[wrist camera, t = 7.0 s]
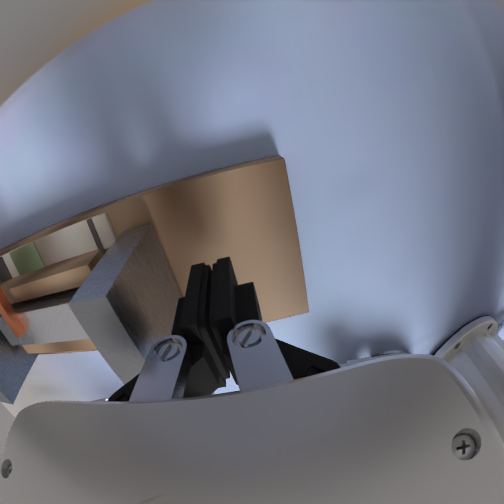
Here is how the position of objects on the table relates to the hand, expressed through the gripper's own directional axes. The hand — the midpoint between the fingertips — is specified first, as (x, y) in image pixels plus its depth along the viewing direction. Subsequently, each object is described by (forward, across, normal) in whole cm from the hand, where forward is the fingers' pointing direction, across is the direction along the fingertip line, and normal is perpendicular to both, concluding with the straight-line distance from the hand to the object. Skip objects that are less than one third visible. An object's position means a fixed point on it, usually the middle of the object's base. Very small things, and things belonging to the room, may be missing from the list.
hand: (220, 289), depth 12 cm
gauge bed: (+4, +8, 0) cm, 9 cm away
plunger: (+2, +9, -1) cm, 10 cm away
